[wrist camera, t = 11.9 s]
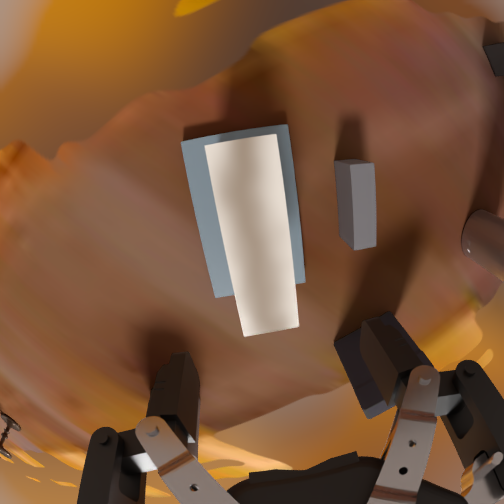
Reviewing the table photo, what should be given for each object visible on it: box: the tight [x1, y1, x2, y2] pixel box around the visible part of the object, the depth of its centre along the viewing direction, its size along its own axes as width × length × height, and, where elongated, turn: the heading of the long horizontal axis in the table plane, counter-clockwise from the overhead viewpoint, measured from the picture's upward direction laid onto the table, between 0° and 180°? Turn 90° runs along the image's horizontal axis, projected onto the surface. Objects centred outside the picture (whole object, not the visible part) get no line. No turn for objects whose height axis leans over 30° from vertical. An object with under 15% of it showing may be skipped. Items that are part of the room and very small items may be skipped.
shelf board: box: [205, 134, 299, 337], centre depth 25 cm, size 6×18×3 cm, turn 9°
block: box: [334, 159, 376, 250], centre depth 32 cm, size 3×10×5 cm, turn 9°
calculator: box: [334, 312, 434, 419], centre depth 36 cm, size 11×4×15 cm, turn 119°
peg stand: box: [181, 124, 305, 298], centre depth 30 cm, size 12×20×8 cm, turn 9°
